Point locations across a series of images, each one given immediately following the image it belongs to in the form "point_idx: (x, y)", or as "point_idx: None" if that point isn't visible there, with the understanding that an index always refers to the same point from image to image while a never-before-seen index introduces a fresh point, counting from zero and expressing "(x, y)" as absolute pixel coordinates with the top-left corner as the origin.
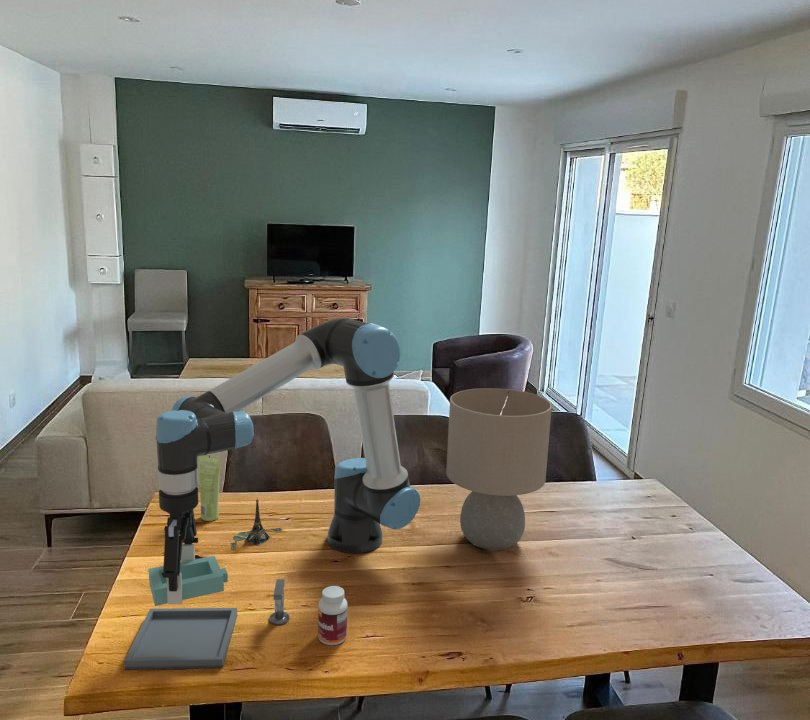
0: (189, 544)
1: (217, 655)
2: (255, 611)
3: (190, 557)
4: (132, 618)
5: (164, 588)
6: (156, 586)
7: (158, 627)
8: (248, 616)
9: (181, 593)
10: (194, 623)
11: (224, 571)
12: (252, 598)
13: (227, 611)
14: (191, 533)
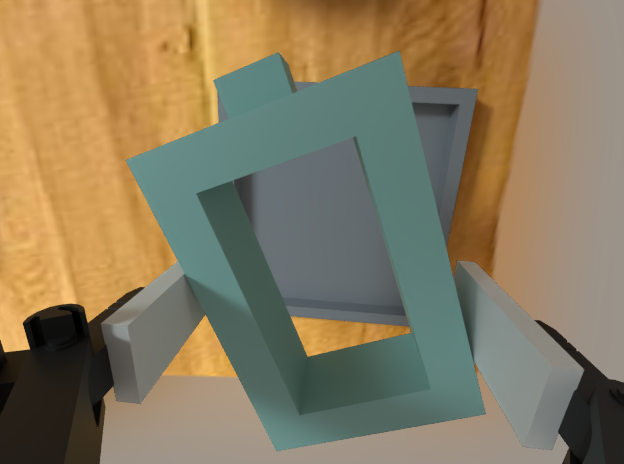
0: (109, 354)
1: (420, 113)
2: (202, 24)
3: (179, 298)
4: None
5: (475, 373)
6: (452, 408)
7: (285, 277)
8: (228, 45)
9: (491, 284)
10: (271, 196)
11: (257, 77)
12: (135, 44)
13: None
14: (50, 458)
